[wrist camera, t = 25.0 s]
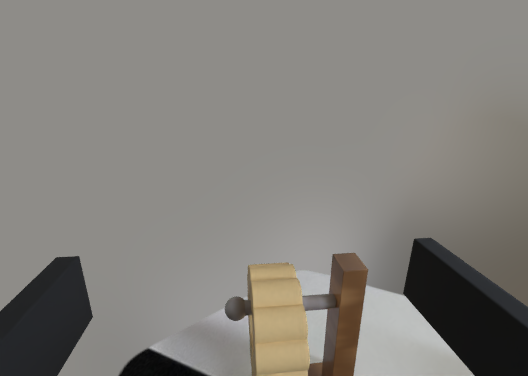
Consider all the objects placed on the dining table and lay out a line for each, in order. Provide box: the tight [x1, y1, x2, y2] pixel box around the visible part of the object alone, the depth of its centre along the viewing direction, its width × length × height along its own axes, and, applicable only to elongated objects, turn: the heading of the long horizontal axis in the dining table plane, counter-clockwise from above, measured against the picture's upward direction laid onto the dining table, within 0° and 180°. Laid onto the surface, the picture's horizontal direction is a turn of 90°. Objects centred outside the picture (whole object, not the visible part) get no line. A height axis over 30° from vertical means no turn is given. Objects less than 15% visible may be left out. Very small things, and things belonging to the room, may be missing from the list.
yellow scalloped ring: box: [247, 263, 310, 376], centre depth 29 cm, size 4×12×12 cm, turn 6°
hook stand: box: [225, 253, 368, 376], centre depth 30 cm, size 15×10×21 cm, turn 96°
